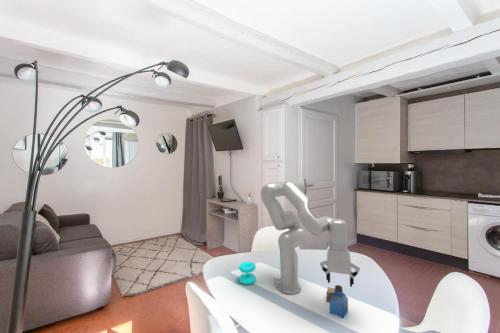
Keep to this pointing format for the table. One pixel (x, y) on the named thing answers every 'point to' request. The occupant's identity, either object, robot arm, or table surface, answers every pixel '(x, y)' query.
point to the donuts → (247, 273)
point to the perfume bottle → (339, 302)
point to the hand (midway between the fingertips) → (339, 283)
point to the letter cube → (330, 293)
